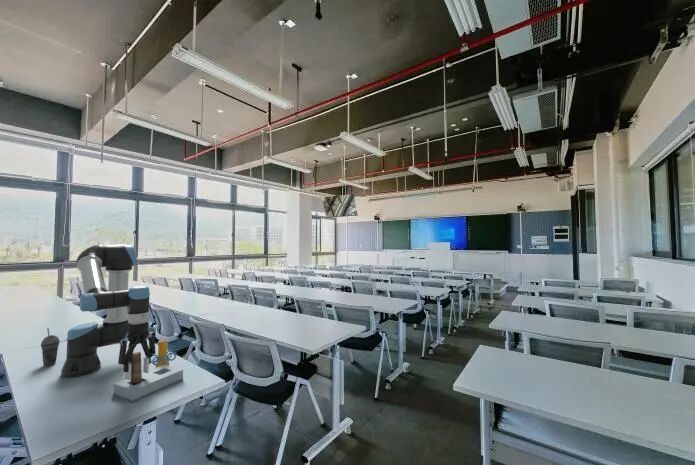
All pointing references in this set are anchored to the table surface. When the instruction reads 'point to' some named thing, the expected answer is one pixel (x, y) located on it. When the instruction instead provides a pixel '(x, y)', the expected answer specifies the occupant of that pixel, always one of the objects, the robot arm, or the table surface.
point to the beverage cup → (50, 349)
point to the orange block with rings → (162, 354)
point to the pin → (136, 368)
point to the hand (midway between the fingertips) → (137, 375)
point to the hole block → (148, 383)
